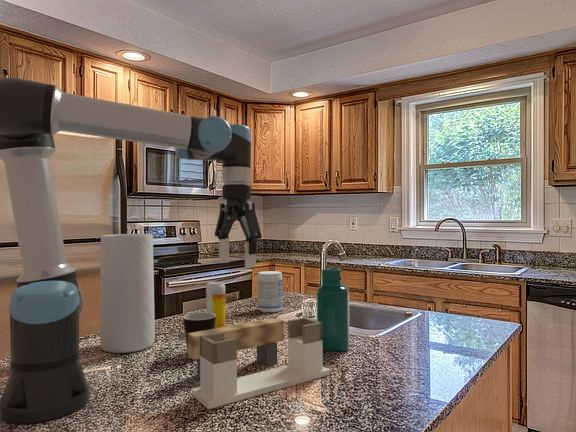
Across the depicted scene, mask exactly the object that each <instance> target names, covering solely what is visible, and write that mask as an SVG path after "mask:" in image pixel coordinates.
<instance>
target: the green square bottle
mask: <svg viewBox="0 0 576 432" xmlns="http://www.w3.org/2000/svg"><path fill="white" fill-rule="evenodd" d="M341 272H343V269H342V268H339V267H327V268H324V269H322V270H321V285H320V286H319V287H318V288H317V290H316V316H317V317H316V321H318V322H321V323H322V342H323V351H328V352H331V351H332V352H346V351H348V350H349V347H350V335H351V334H350V288H349V286H348V285H346V284H344V283H341Z"/></svg>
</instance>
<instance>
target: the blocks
mask: <svg viewBox="0 0 576 432" xmlns="http://www.w3.org/2000/svg"><path fill="white" fill-rule="evenodd" d="M256 361H258V362H259V363H261V364H263V365H265V366H267V367H268V366H272V365H276V364H278V342H275V343H271V344H266V345H261V346H256ZM196 374H197V375H198V376H199V377H200V358H199V359H196Z"/></svg>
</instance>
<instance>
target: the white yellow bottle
mask: <svg viewBox="0 0 576 432" xmlns="http://www.w3.org/2000/svg"><path fill="white" fill-rule="evenodd" d="M205 293H206V294H205V296H206V297H205V302H206V303H205V305H206V306H205V307H206V309H205V310H206V312H205V313H213V314H215V315H216V320H215V329H216V328H222V327H227V325H226V323H227V322H226V321H227V320H226V285H225V282H224V281H211V282H207V283H206V286H205Z"/></svg>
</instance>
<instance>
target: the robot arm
mask: <svg viewBox="0 0 576 432" xmlns="http://www.w3.org/2000/svg"><path fill="white" fill-rule="evenodd" d="M60 132H64V133H65V132H66V133H71V134H79V135H85V136H86V135H87V136H93V137H98V138H99V137H100V138H105V139H106V138H107V139H114V140H120V141H125V142H126V141H127V142H134V143H139V144H140V143H141V144H147V145H152V146H153V145H154V146H160V147H161V146H162V147H169V148H174V150H175V151H174V154H175V155H176V158H178V159H181V160H188V161H192V160H193V161H213V162H214V161H216V162H221V164H222V165H221V173H222V174H221V177H222V178H221V179H222V180H221V183H223V185H222V186H221V189H222V191H221V192H222V193H221V196H222V200H226V202H224V203H222V202H221V203H220V204H219V205H220V206H219V207H220V208H219V215H218V217H217V222H216V228H215V232H214V237H217V239H218V243H219V244H218V246H219V247H218V254H219V255H218V256H219V257H218V263H219V264H226V263H227V264H229V263H230V236H229V235H230V233H231V230H232V228H233V225H234V223H235V222H236V221H237V222H239V225H240V227H241V229H242V231H243V234H244V237H245V240H244V268H245V269H248V268H249V269H250V268H251V269H252V268H256V266H257V242H258V240H260V239H262V237H263V236H262V232H261V228H260V224H259V221H258V218H257V213H256V209H255V208H256V206H255V205H256V204H255V202H253V201H247V200H250V199H251V197H252V187H251V185H249V184H251V183H252V182H251V181H252V180H251V179H252V178H251V176H252V173H251V170H252V164H251V163H252V161H251V160H252V159H251V158H252V137H251V136H252V135H251V129H250V127H249V126H247V125H244V124H241V123H240V124H239V123H234V124H233V123H228V122H227V120H226V119H224V118H223V117H222V116H221V117H220V116H217V115H215V116H214V115H211V116H207V117H198V116H194V115H193V116H191V115H186V114H183V113H182V114H181V113H175V112H171V111H165V110H159V109H156V108H149V107H144V106H139V105H132V104H128V103H123V102H117V101H111V100H106V99H101V98H95V97H89V96H84V95H80V94H73V93H69V92H64V91H63V90H62V89H61V88H60V87H59V85H55V84H48V83H43V82H39V81H34V80H30V79H23V78H19V77H0V160H1V161H2V162H4V168H5V169H4V170H5V174H6V179H7V186H8V192H9V197H10V203H11V208H12V216H13V221H14V227H15V231H16V232H15V233H16V237H17V243H18V249H19V255H20V261H21V267H22V272H21V273H20V275H19V276H18V278H16V286H17V288H16V289H15V290H13V291H12V292H11V295H10V300H9V304H8V312H9V326H10V327H9V332H10V333H9V335H10V336H9V339H10V340H9V341H10V342H9V343H10V350H9V351H10V352H9V353H10V355H9V356H10V372H9V375H8V379H7V381H6V385H5V388H4V390H3V392H2V396H1V399H0V419H1V420H2V421H4V422H6V423H10V424H34V423H42V422H47V421H51V420H54V419H60V418H62V417H65V416H67V415H70V414H72V413H74V412H76V411H77V410H79V409H81V408H82V407H84V406H85V405H87V403H88V402H89V400H90V385H89V382H88V380H87V378H86V375H85V372H84V370H83V366H82V365H81V362H80V315H81V312H82V310H83V305H84V304H83V300H84V299H83V296H82V293H81V291H80V288H79V282H78V277H77V272H76V271H77V270H76V267H75V268H74V267H73V266H71V265H70V264H68V262H67V257H66V250H65V244H64V239H63V238H64V237H63V232H62V228H61V222H60V215H59V209H58V203H57V197H56V191H55V190H56V189H55V185H54V181H53V180H54V179H53V172H52V168H51V157H52V156H53V155H54V153H56V146H55V144H56V143H55V140H54V136H55V135H57V133H60Z"/></svg>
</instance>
